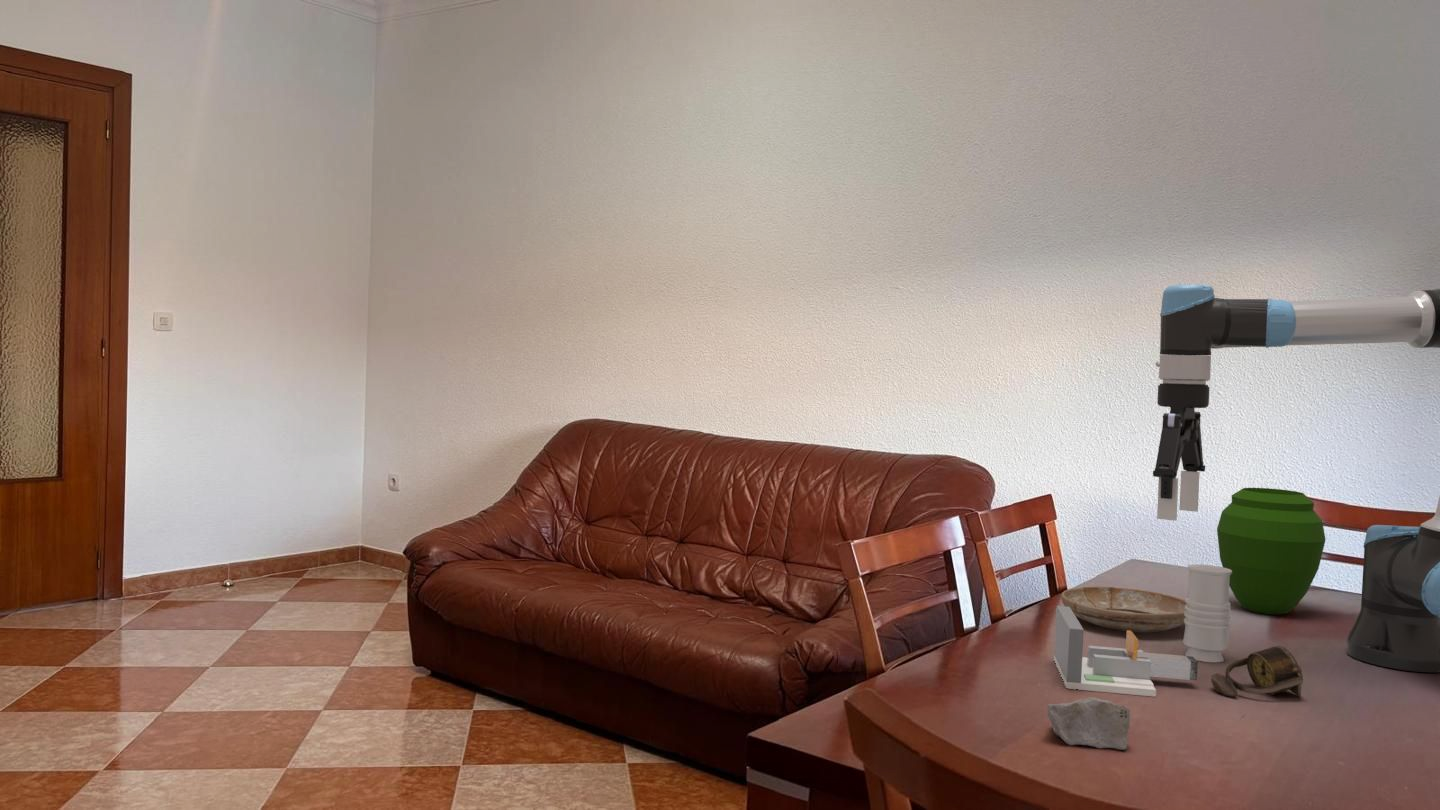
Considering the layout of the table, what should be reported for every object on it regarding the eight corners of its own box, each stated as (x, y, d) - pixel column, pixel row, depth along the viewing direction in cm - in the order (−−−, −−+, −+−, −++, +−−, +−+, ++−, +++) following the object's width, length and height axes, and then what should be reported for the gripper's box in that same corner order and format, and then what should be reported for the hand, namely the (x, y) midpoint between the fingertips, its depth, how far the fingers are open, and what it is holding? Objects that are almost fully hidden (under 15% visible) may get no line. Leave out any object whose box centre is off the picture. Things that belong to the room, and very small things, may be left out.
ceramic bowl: (1162, 612, 208) (1164, 587, 208) (1215, 644, 185) (1216, 616, 185) (1045, 607, 209) (1046, 582, 209) (1082, 638, 185) (1084, 610, 185)
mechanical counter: (1320, 672, 150) (1298, 640, 159) (1225, 656, 152) (1209, 625, 162) (1308, 716, 152) (1287, 682, 161) (1215, 700, 154) (1199, 666, 164)
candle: (1234, 664, 172) (1240, 573, 171) (1191, 662, 172) (1196, 571, 172) (1217, 652, 179) (1222, 565, 178) (1175, 650, 179) (1180, 563, 178)
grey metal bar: (1191, 674, 160) (1194, 635, 160) (1201, 685, 155) (1204, 645, 154) (1122, 668, 162) (1125, 629, 162) (1130, 679, 157) (1132, 639, 156)
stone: (1050, 723, 140) (1053, 680, 140) (1129, 738, 136) (1132, 693, 136) (1043, 742, 133) (1046, 697, 132) (1127, 758, 129) (1130, 711, 128)
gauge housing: (1135, 667, 168) (1138, 612, 167) (1155, 696, 153) (1159, 635, 153) (1053, 660, 170) (1056, 605, 170) (1066, 688, 155) (1069, 628, 155)
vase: (1323, 609, 216) (1330, 491, 215) (1317, 628, 199) (1326, 500, 198) (1219, 595, 226) (1225, 482, 225) (1205, 611, 210) (1213, 490, 209)
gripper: (1178, 381, 179) (1173, 505, 180) (1136, 381, 159) (1131, 520, 160) (1226, 382, 175) (1220, 509, 176) (1189, 383, 155) (1183, 526, 156)
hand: (1178, 515), depth 168 cm, fingers open, 13 cm apart
